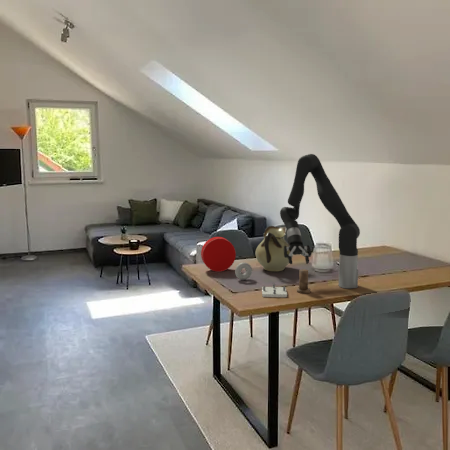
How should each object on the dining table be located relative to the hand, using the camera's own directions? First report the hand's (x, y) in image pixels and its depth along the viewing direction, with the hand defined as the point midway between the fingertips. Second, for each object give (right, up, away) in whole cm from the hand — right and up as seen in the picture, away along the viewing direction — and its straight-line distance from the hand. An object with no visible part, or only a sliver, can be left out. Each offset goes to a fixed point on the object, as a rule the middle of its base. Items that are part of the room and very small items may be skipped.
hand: (299, 263), depth 244 cm
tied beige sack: (-9, -7, +38) cm, 40 cm away
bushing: (+1, -14, -6) cm, 15 cm away
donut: (-29, -11, +16) cm, 34 cm away
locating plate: (-14, -14, -9) cm, 22 cm away
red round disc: (-43, -7, +37) cm, 57 cm away
